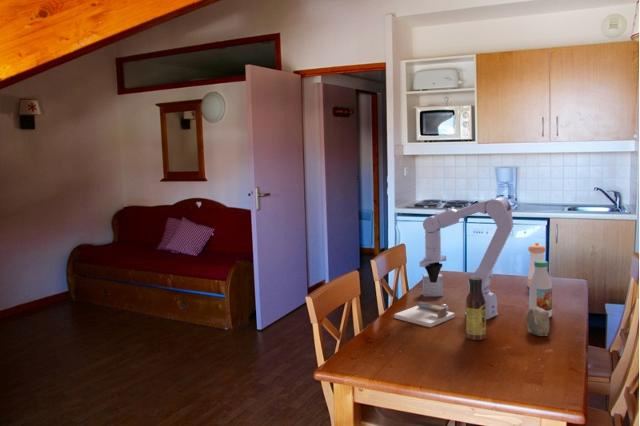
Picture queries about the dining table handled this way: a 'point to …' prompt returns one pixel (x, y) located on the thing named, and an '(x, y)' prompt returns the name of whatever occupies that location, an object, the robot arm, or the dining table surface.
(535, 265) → the milk bottle
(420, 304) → the steel link
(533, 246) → the orange-capped bottle
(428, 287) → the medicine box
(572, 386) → the dining table surface
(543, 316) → the grey rock
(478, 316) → the sauce bottle
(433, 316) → the board
